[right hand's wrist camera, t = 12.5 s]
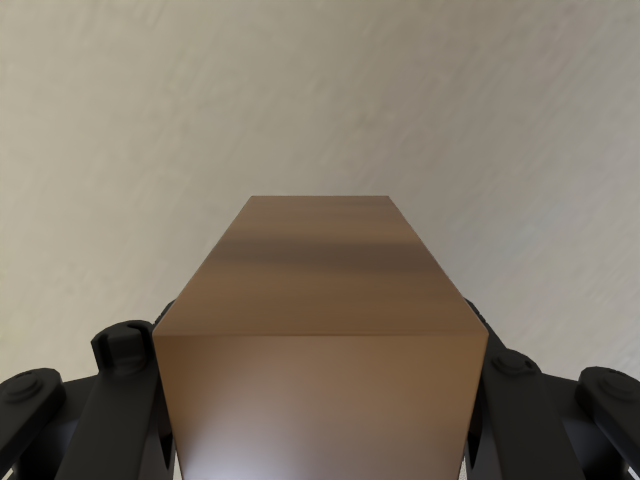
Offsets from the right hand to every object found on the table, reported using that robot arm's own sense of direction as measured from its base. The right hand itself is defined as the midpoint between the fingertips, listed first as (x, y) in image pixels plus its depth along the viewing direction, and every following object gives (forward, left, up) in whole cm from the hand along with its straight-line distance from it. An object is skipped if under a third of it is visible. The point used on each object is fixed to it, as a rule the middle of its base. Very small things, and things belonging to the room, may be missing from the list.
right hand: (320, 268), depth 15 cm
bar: (+8, +7, -1) cm, 11 cm away
